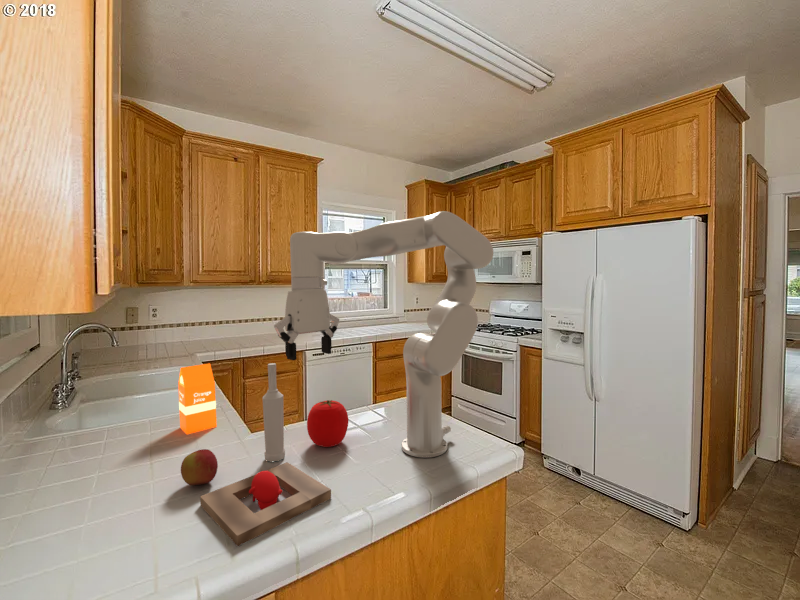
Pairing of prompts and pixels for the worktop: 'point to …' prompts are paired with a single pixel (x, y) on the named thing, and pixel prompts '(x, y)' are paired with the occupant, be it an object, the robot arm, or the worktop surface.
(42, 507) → the worktop surface
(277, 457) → the bottle
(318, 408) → the tomato
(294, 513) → the walnut board
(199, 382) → the orange juice
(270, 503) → the red rounded piece
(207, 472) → the apple
